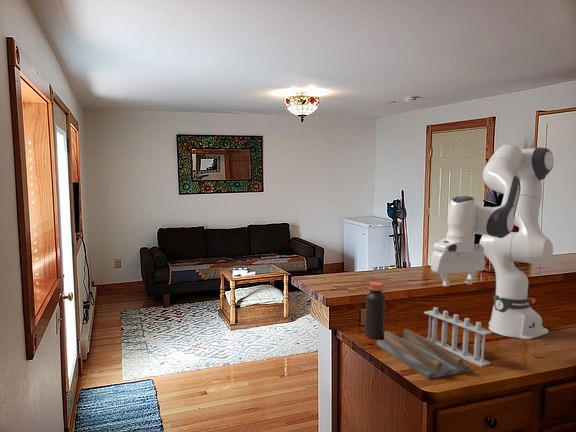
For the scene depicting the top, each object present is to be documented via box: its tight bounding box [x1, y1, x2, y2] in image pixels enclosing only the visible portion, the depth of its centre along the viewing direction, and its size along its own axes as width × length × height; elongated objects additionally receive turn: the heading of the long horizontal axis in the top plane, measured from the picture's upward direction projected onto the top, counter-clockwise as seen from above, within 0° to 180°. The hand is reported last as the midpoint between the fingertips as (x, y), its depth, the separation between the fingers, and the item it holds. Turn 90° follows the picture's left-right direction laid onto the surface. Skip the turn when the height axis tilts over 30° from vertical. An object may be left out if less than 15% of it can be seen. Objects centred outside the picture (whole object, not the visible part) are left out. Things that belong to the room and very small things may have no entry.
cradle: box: [376, 328, 471, 380], centre depth 153 cm, size 16×28×4 cm, turn 22°
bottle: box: [364, 281, 386, 340], centre depth 171 cm, size 7×7×20 cm
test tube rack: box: [423, 306, 493, 368], centre depth 158 cm, size 25×4×13 cm, turn 31°
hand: (457, 284), depth 156 cm, fingers open, 8 cm apart
